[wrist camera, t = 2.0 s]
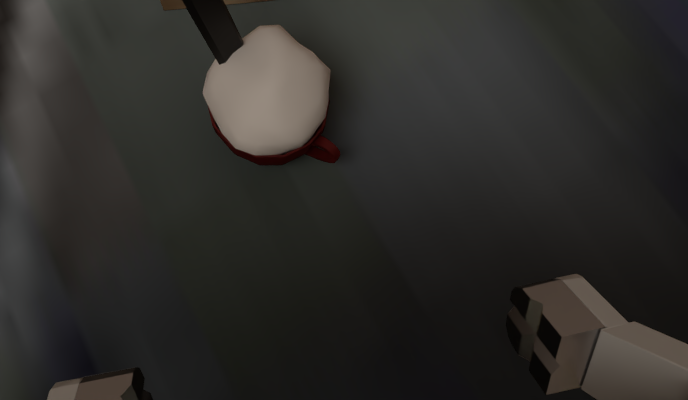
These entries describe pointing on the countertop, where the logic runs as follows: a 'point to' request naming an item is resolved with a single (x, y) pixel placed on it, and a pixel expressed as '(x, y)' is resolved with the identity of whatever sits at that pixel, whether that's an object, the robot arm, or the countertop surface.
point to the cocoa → (263, 90)
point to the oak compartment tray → (174, 1)
